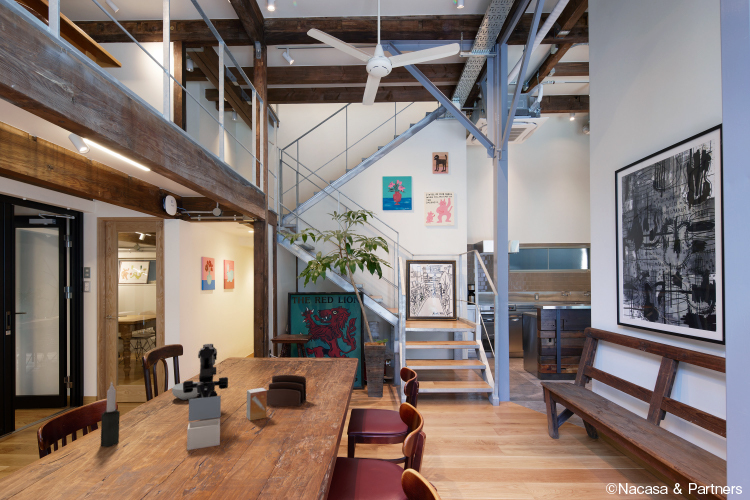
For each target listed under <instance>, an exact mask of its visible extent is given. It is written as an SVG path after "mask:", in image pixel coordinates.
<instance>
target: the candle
mask: <svg viewBox="0 0 750 500" xmlns="http://www.w3.org/2000/svg"><path fill="white" fill-rule="evenodd" d="M113 384H114V383H113V382H111V381H110V386H109V388H108V389H107V391H106V392H107V393H106V410H104V412H103V413H101V420H100V421H101V422H100V423H101V425H100V426H101V427H100V447H104V448H111V447H113V446H115V445H117V444H119V443H120V442H119V441H120V417H121V416H120V413H121V412H120V411H119V410H118V409H117V408H116V395H117V394H116V393H117V392H116V389H115V387H114V385H113Z"/></svg>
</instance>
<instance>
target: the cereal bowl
mask: <svg viewBox="0 0 750 500" xmlns="http://www.w3.org/2000/svg"><path fill="white" fill-rule="evenodd" d="M197 382H198V381H193V384H194V383H197ZM183 383H184V382H181V383H177V384H174V385H173V386H172V387H171V392H172V395H173V396H174V397H175V398H177V399H180V400H182V401H184V400H185V401H188V400H189V399H196V398H197V388H193V391H192V392H190V393H183ZM187 399H188V400H187Z"/></svg>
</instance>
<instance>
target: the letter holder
mask: <svg viewBox="0 0 750 500" xmlns="http://www.w3.org/2000/svg"><path fill="white" fill-rule="evenodd" d="M266 390H267V406H271V407H272V406H273V407H274V406H277V407H295V408H298V407H299V408H300V407H302V406H303V404H305V403H307V379H306V377H305V376H302V375H296V374H295V375H294V374H279V375H272V377H271V383H269V384H268V389H266Z"/></svg>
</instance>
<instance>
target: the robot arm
mask: <svg viewBox="0 0 750 500" xmlns="http://www.w3.org/2000/svg"><path fill="white" fill-rule="evenodd" d="M217 356H218V350H217V348H216V347H214V343H205V344H203V345H202V347H201V348H200V349H199V350H198V354H197V358H198V359H199V363H200V365H199V367H200V368H199V375H198V376H199V377H198V381H196V382H197V383H194V384H193V382H194V380H185V381H183V382H182V383H183V393H190V392H192V391H193V388H197V396H196V399H197V398H206V397H215V396H218V393H217V391H216V389H215V388H216V386H218V389H220V390H226V389H229V378H228V376H227V377H226V376H225V377H224V376H222V377H218V380H214V376H216V375H217V366H215V364H216V360H217V358H218V357H217Z"/></svg>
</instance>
